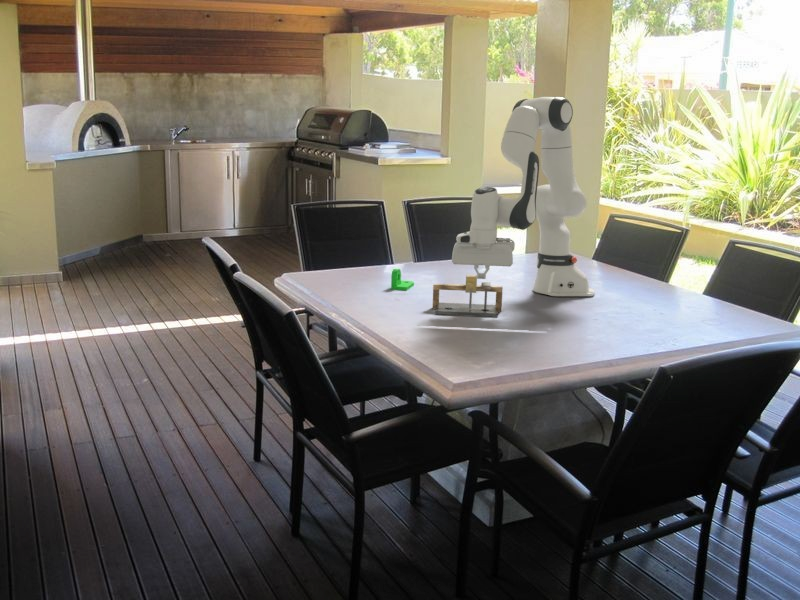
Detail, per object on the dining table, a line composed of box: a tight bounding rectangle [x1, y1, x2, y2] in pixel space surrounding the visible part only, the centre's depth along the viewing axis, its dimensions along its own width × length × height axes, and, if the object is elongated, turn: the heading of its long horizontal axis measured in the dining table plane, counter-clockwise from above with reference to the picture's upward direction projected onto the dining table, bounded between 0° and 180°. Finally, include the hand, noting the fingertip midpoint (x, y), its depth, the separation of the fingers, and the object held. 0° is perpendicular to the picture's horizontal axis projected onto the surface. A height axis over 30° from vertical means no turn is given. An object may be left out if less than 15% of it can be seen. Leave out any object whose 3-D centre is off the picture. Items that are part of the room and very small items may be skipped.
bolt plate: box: [435, 302, 499, 318], centre depth 281 cm, size 20×13×1 cm, turn 85°
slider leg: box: [464, 274, 478, 309], centre depth 280 cm, size 4×7×10 cm, turn 175°
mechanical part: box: [390, 268, 415, 291], centre depth 315 cm, size 12×6×8 cm, turn 163°
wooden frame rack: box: [432, 281, 504, 312], centre depth 280 cm, size 23×6×9 cm, turn 85°
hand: (481, 278), depth 281 cm, fingers closed
